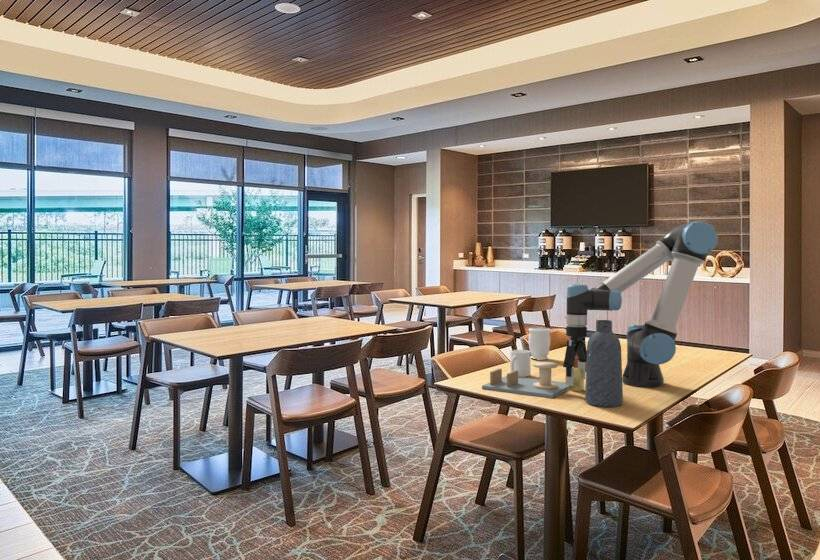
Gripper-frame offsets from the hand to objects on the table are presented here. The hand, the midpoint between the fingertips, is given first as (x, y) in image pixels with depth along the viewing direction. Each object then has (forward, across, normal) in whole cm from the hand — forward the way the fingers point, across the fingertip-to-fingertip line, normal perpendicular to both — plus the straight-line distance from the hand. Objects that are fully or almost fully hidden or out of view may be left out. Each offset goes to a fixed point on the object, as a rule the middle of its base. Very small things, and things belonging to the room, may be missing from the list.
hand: (575, 382), depth 217 cm
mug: (+4, -12, -29) cm, 31 cm away
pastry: (+3, -46, -11) cm, 47 cm away
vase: (+3, +14, +15) cm, 21 cm away
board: (+3, +6, -17) cm, 18 cm away
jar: (+3, -55, -37) cm, 66 cm away
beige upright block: (+3, 0, 0) cm, 3 cm away
